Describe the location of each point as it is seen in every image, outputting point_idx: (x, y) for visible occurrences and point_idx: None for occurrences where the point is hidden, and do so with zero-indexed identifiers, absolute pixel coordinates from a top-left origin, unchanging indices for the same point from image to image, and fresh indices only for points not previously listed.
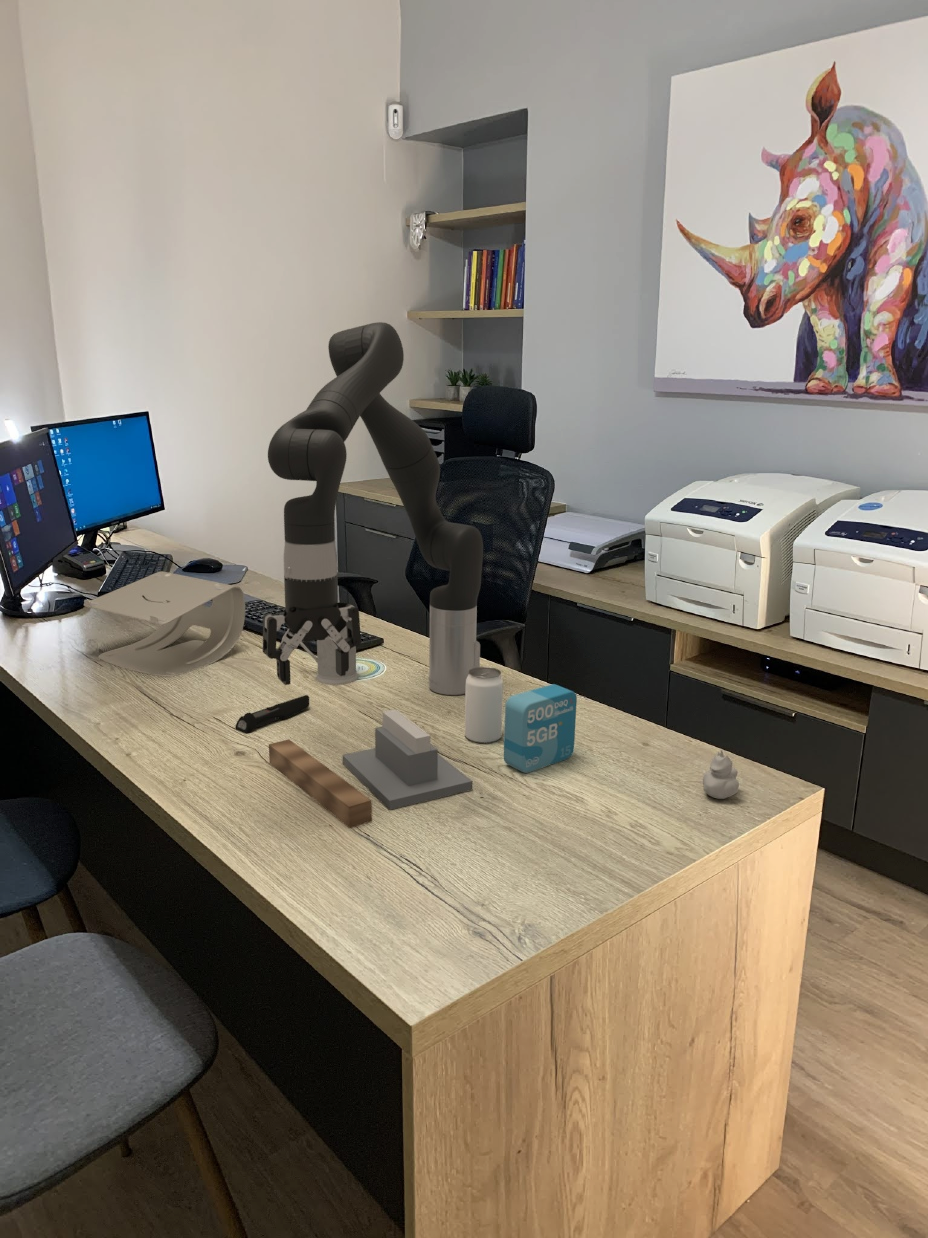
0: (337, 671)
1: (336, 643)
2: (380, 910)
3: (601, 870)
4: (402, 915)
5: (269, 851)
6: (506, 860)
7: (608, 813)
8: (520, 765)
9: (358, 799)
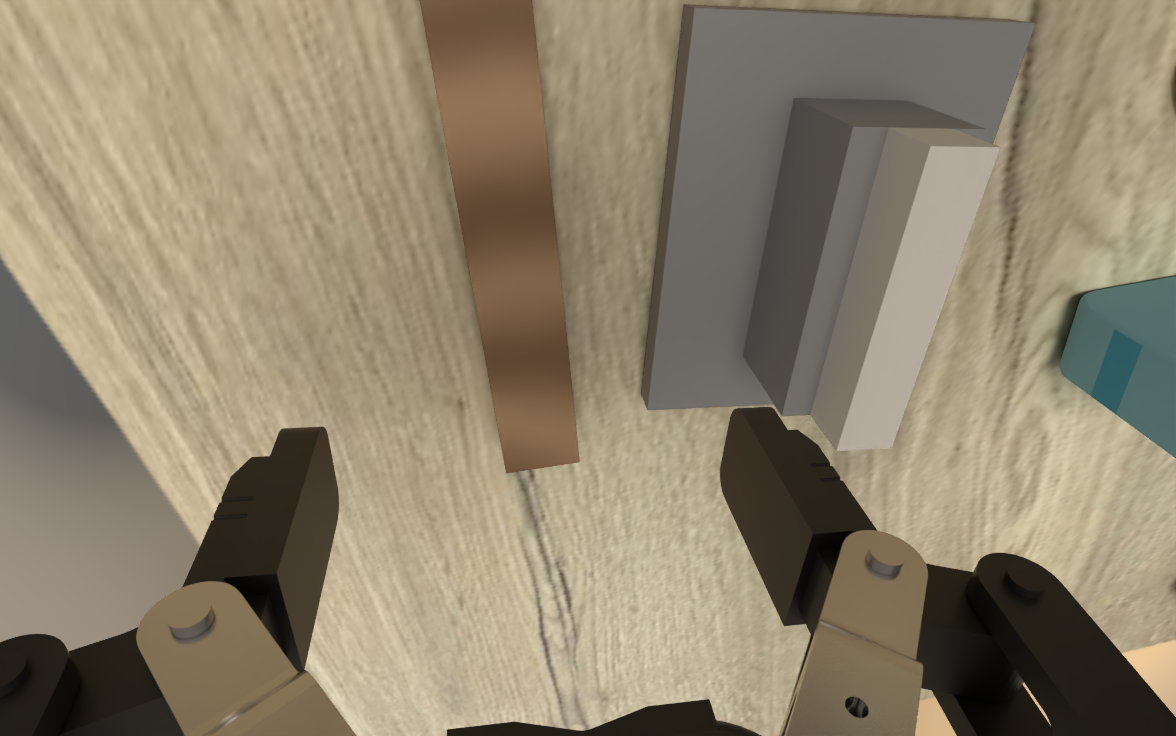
0: (734, 437)
1: (786, 712)
2: (441, 676)
3: None
4: (470, 692)
5: None
6: (724, 624)
7: None
8: (1067, 376)
9: (548, 446)
